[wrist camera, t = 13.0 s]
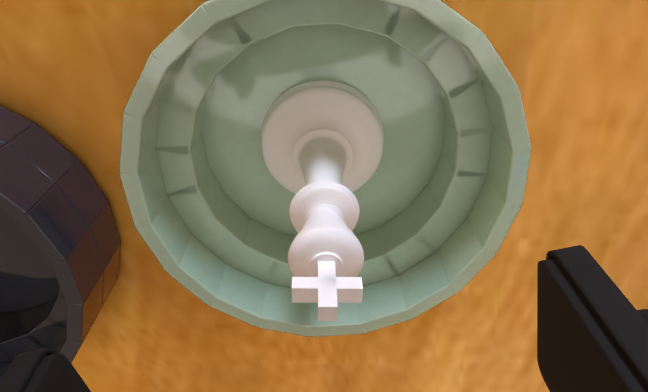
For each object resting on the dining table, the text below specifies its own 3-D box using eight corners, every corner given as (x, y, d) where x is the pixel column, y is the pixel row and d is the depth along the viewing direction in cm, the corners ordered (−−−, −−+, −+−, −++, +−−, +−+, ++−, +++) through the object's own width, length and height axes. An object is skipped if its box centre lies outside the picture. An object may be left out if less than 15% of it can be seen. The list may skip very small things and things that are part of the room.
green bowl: (109, 181, 21) (62, 242, 17) (260, -131, 16) (241, -146, 12) (364, 306, 25) (373, 379, 21) (557, 87, 19) (619, 131, 15)
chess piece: (378, 194, 21) (423, 388, 13) (263, 193, 21) (227, 388, 12) (388, 80, 19) (451, 223, 10) (257, 79, 19) (207, 221, 10)
